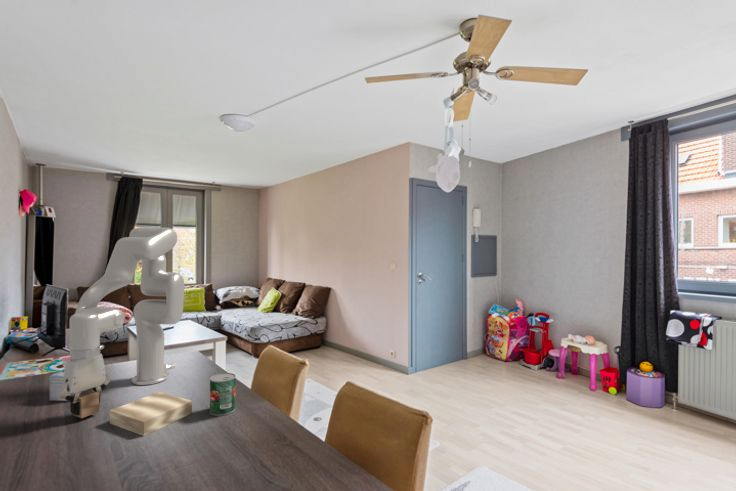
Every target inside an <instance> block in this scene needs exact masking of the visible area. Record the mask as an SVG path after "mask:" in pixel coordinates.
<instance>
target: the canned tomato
mask: <svg viewBox="0 0 736 491" xmlns="http://www.w3.org/2000/svg"><path fill="white" fill-rule="evenodd" d="M236 380H237V379H236V374H235V373H231V372H223V373H217V374H214V375H211V377H209V414H210V415H212V416H215V417H221V416H222V417H223V416H226V415H230V414H232V413H233V412H235V410H236V389H237V387H236V382H237V381H236Z"/></svg>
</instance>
